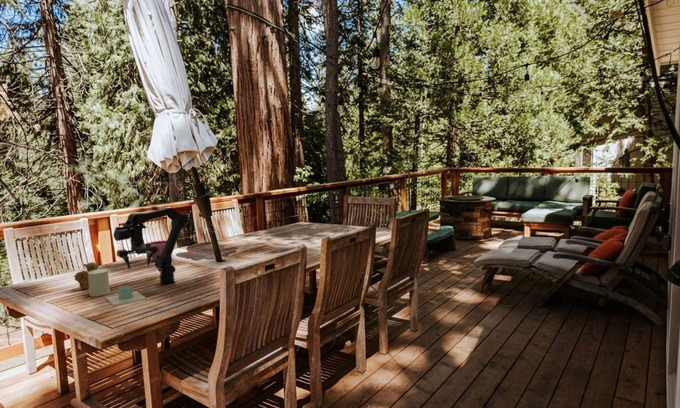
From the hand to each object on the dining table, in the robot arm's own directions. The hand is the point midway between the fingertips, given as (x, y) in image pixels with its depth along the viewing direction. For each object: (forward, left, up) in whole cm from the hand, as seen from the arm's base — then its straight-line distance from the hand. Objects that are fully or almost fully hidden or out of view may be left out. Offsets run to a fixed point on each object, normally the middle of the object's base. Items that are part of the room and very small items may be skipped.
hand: (138, 267), depth 219 cm
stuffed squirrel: (+18, -25, -12) cm, 33 cm away
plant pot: (-31, -61, -12) cm, 70 cm away
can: (+17, -9, -12) cm, 23 cm away
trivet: (+10, +11, -12) cm, 19 cm away
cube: (+10, +11, -11) cm, 19 cm away
